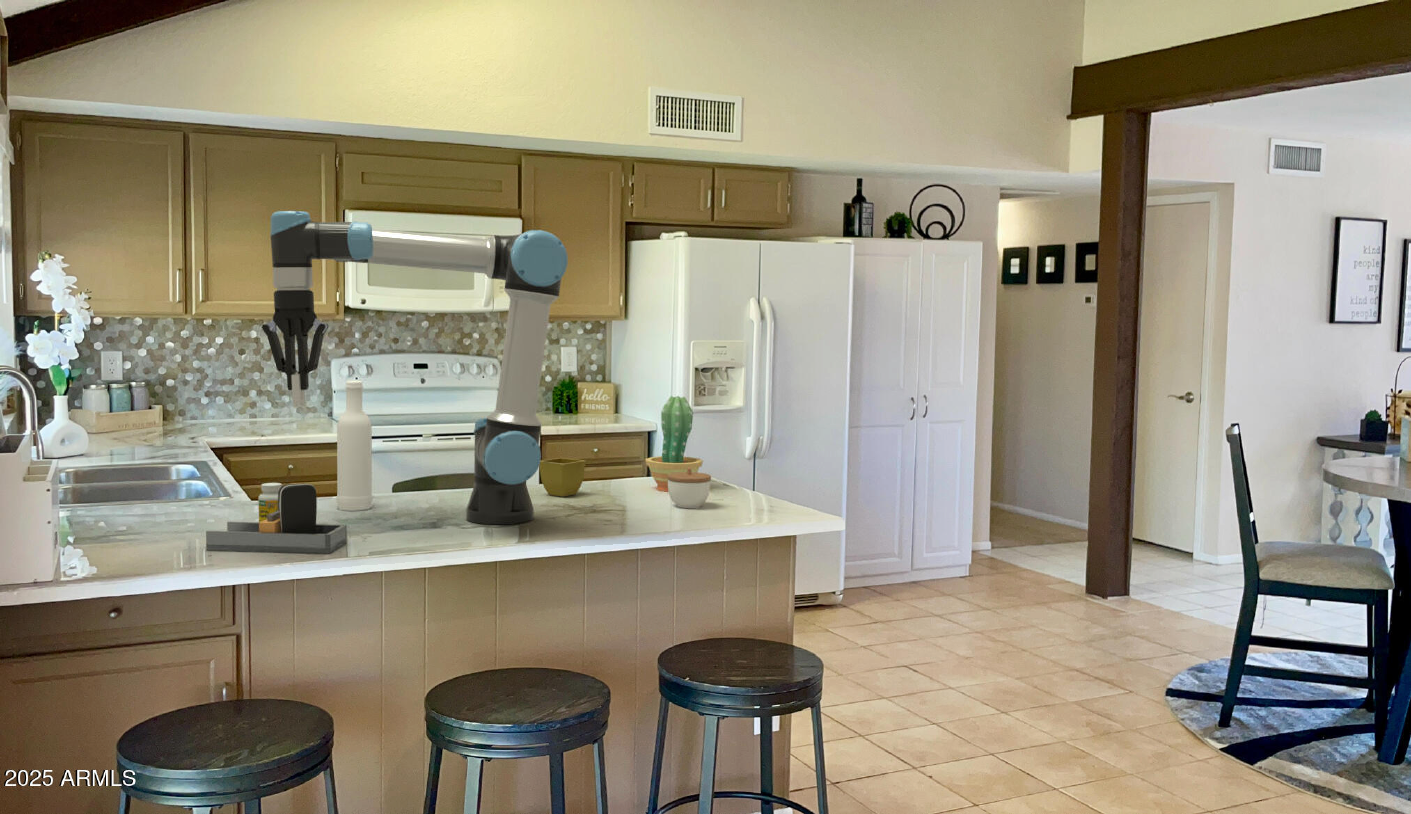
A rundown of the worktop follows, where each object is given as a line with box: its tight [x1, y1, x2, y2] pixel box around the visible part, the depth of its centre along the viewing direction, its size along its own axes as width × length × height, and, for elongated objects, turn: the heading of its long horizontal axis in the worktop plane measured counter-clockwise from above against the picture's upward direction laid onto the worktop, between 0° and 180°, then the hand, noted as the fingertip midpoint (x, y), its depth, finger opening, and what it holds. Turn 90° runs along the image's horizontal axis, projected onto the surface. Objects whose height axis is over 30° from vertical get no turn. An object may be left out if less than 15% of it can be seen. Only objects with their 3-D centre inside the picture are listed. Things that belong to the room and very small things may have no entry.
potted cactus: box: [645, 395, 704, 493], centre depth 306 cm, size 15×15×25 cm
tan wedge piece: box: [259, 511, 280, 533], centre depth 226 cm, size 3×8×5 cm, turn 179°
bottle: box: [336, 379, 373, 512], centre depth 268 cm, size 8×8×30 cm
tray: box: [205, 521, 348, 555], centre depth 226 cm, size 24×10×4 cm, turn 89°
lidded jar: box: [667, 468, 712, 509], centre depth 282 cm, size 11×11×9 cm
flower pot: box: [539, 457, 586, 498], centre depth 293 cm, size 9×9×9 cm
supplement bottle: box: [258, 482, 283, 523], centre depth 243 cm, size 5×5×10 cm
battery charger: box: [278, 483, 318, 534], centre depth 226 cm, size 7×4×11 cm, turn 126°
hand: (299, 406), depth 232 cm, fingers closed
